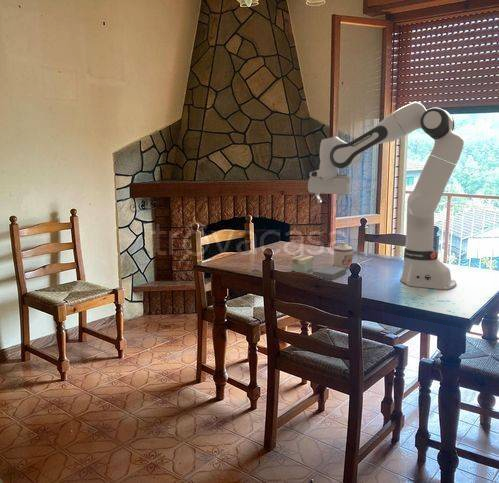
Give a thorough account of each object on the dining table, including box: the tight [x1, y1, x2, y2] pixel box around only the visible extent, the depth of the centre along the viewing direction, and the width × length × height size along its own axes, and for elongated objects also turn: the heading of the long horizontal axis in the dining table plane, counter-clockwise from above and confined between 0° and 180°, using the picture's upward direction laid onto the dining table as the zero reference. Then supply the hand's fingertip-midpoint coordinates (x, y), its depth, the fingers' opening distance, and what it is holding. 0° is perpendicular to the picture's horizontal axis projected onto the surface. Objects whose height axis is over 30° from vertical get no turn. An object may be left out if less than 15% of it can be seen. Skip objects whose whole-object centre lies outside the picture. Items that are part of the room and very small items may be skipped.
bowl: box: [291, 261, 314, 274], centre depth 242 cm, size 7×7×4 cm
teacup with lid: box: [333, 241, 355, 269], centre depth 250 cm, size 12×9×12 cm
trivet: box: [312, 265, 347, 281], centre depth 235 cm, size 10×13×2 cm
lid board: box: [290, 254, 315, 265], centre depth 242 cm, size 6×10×2 cm, turn 144°
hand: (328, 203), depth 240 cm, fingers open, 8 cm apart
